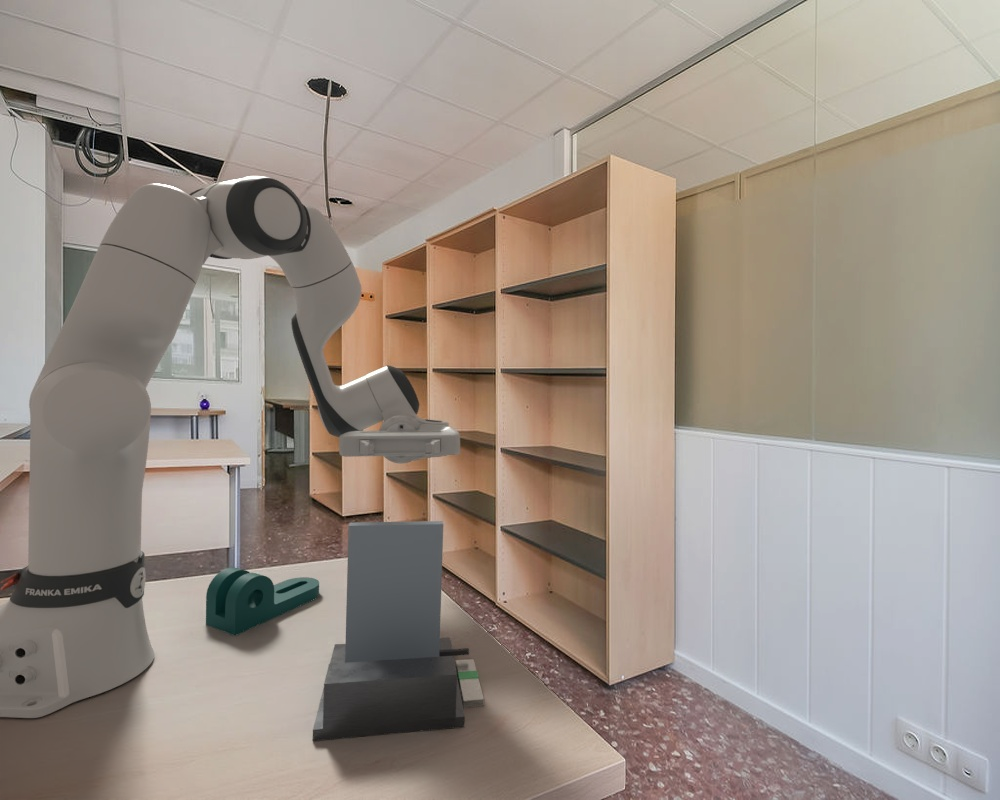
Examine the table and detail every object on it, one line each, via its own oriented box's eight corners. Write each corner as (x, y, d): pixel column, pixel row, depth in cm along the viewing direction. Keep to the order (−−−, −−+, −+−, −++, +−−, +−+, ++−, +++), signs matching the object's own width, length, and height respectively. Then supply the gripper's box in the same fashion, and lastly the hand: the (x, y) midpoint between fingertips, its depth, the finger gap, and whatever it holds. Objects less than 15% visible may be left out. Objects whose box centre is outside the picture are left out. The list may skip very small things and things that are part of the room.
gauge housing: (312, 741, 54) (313, 684, 54) (334, 652, 72) (335, 610, 72) (488, 725, 58) (490, 672, 58) (468, 644, 75) (469, 604, 75)
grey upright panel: (344, 665, 66) (348, 525, 66) (346, 659, 68) (349, 522, 67) (469, 657, 69) (473, 523, 69) (467, 651, 71) (472, 520, 70)
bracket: (234, 637, 76) (235, 583, 76) (205, 626, 79) (206, 574, 79) (327, 594, 92) (328, 550, 92) (300, 586, 95) (300, 544, 95)
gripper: (343, 421, 94) (331, 430, 80) (456, 421, 97) (463, 429, 84) (343, 456, 94) (331, 471, 81) (455, 454, 98) (463, 468, 84)
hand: (399, 450), depth 82 cm, fingers open, 8 cm apart
